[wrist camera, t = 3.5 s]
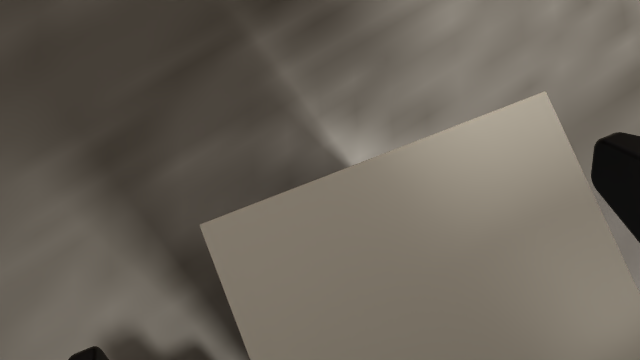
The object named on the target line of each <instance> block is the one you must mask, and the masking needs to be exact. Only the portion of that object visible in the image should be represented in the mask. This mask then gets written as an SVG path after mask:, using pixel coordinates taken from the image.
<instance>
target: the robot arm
mask: <svg viewBox="0 0 640 360" xmlns="http://www.w3.org/2000/svg"><path fill="white" fill-rule="evenodd" d="M591 179H592V182H593V185H594V187H595V188H596V190H597V191H598V192H599V193H600V195H601V196H602V197H603V198H604V200H605V201H606V202H607V203H608V204H609V206H610V207H611V208H612V209H613V211H614V212H615V213H616V214H617V216H618V217H619V218H620V219H621V220H622V222H623V223H624V224H625V225H626V227H627V228H628V229H629V230H630V232H631V233H632V234H633V235H634V236H635V238H636V239H637V240H638V241H639V242H640V136H636V135H631V134H627V133H622V132H617V133H613V134H611V135H609V136H606V137H604V138H601V139H599V140H598V141H597V142H596V144H595V146H594V153H593V162H592V170H591ZM68 360H109V359H108V358H107V357H106V355H105V354H104V352H103V351H102V350H101V349H100V348H99V347H97V346H93V347H90V348H88V349H85V350H83V351H81V352H78V353H76V354H74V355H72V356H71V357H70V358H69V359H68Z"/></svg>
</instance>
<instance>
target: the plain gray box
mask: <svg viewBox="0 0 640 360" xmlns="http://www.w3.org/2000/svg"><path fill="white" fill-rule="evenodd" d="M199 226H200V228H201V231H202V234H203V236H204V239H205V241H206V244H207V247H208V249H209V252H210V255H211V257H212V260H213V263H214V265H215V268H216V271H217V273H218V276H219V278H220V281H221V284H222V286H223V289H224V292H225V294H226V297H227V300H228V302H229V305H230V308H231V310H232V313H233V316H234V318H235V321H236V323H237V326H238V329H239V331H240V334H241V337H242V339H243V342H244V345H245V347H246V350H247V353H248V355H249V358H250V360H640V293H639V291H638V289H637V287H636V285H635V282H634V280H633V278H632V276H631V274H630V272H629V270H628V267H627V265H626V263H625V261H624V259H623V257H622V255H621V252H620V250H619V248H618V246H617V244H616V242H615V239H614V237H613V235H612V233H611V231H610V229H609V227H608V224H607V222H606V220H605V218H604V216H603V214H602V212H601V209H600V207H599V205H598V203H597V201H596V199H595V197H594V194H593V192H592V190H591V188H590V186H589V184H588V182H587V179H586V177H585V175H584V173H583V171H582V169H581V166H580V164H579V162H578V160H577V158H576V156H575V154H574V151H573V149H572V147H571V145H570V143H569V141H568V139H567V136H566V134H565V132H564V130H563V128H562V126H561V124H560V121H559V119H558V117H557V115H556V113H555V111H554V108H553V106H552V104H551V102H550V100H549V98H548V96H547V93H546V91H545V92H542V93H540V94H537V95H534V96H532V97H529V98H527V99H524V100H521V101H519V102H516V103H514V104H511V105H508V106H506V107H503V108H501V109H498V110H496V111H493V112H490V113H488V114H485V115H483V116H480V117H477V118H475V119H472V120H470V121H467V122H464V123H462V124H459V125H457V126H454V127H451V128H449V129H446V130H444V131H441V132H438V133H436V134H433V135H431V136H428V137H425V138H423V139H420V140H418V141H415V142H413V143H410V144H407V145H405V146H402V147H400V148H397V149H394V150H392V151H389V152H387V153H384V154H381V155H379V156H376V157H374V158H371V159H368V160H366V161H363V162H361V163H358V164H355V165H353V166H350V167H348V168H345V169H343V170H340V171H337V172H335V173H332V174H330V175H327V176H324V177H322V178H319V179H317V180H314V181H311V182H309V183H306V184H304V185H301V186H298V187H296V188H293V189H291V190H288V191H285V192H283V193H280V194H278V195H275V196H273V197H270V198H267V199H265V200H262V201H260V202H257V203H254V204H252V205H249V206H247V207H244V208H241V209H239V210H236V211H234V212H231V213H228V214H226V215H223V216H221V217H218V218H215V219H213V220H210V221H208V222H205V223H202V224H200V225H199Z"/></svg>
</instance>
